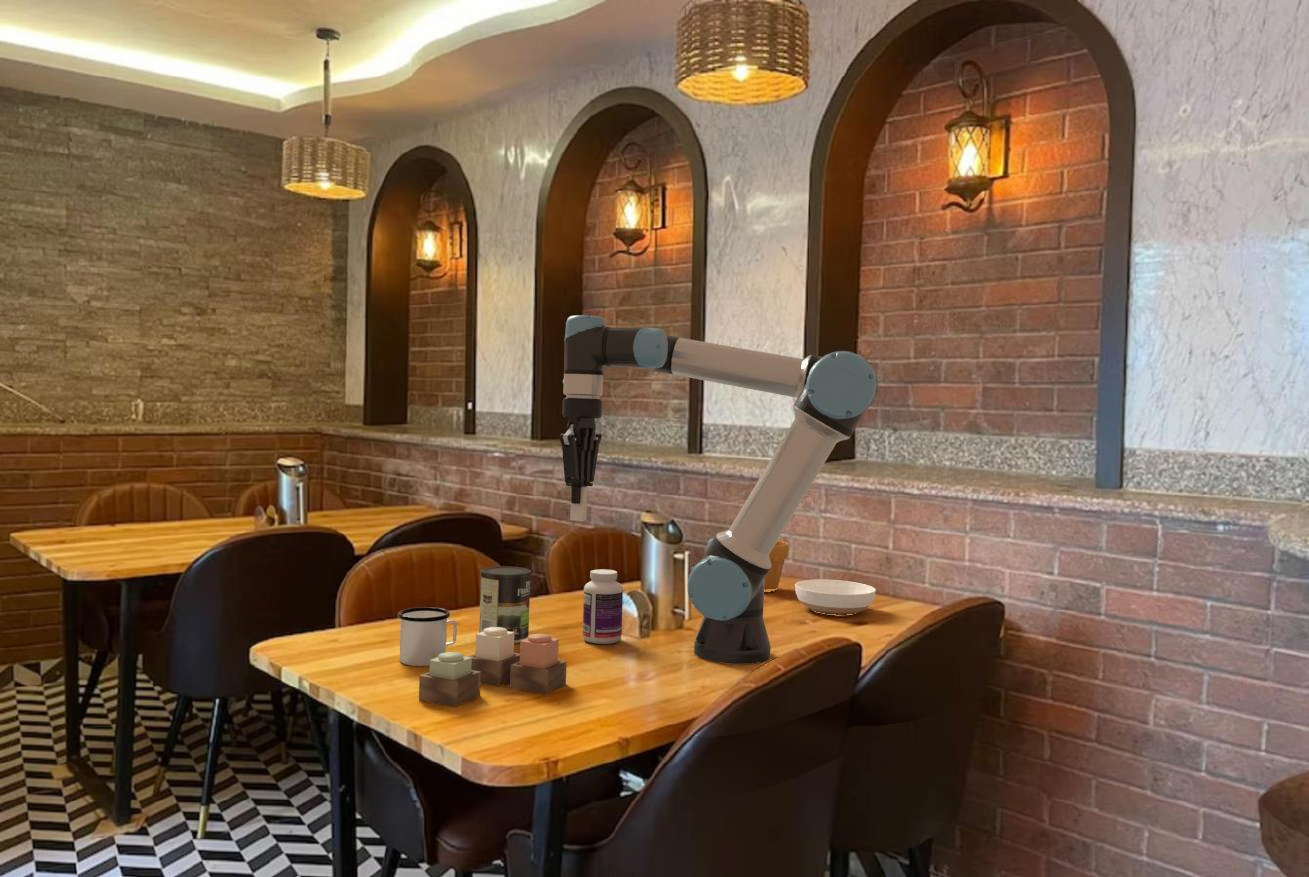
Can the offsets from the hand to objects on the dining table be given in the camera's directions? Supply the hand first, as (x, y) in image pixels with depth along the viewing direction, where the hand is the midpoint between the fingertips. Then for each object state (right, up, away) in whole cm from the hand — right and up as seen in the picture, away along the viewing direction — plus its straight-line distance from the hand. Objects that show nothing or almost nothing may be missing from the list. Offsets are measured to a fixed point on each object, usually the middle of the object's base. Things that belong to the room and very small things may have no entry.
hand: (578, 520), depth 186 cm
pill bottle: (+4, -26, +14) cm, 30 cm away
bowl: (+59, -27, +52) cm, 83 cm away
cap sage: (-19, -26, -27) cm, 42 cm away
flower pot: (+43, -26, +77) cm, 92 cm away
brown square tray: (-19, -27, -27) cm, 43 cm away
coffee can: (-16, -26, +13) cm, 33 cm away
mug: (-28, -26, -5) cm, 38 cm away
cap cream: (-14, -25, -15) cm, 32 cm away
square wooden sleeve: (-14, -27, -15) cm, 34 cm away
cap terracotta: (-5, -25, -19) cm, 32 cm away
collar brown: (-5, -27, -19) cm, 33 cm away
